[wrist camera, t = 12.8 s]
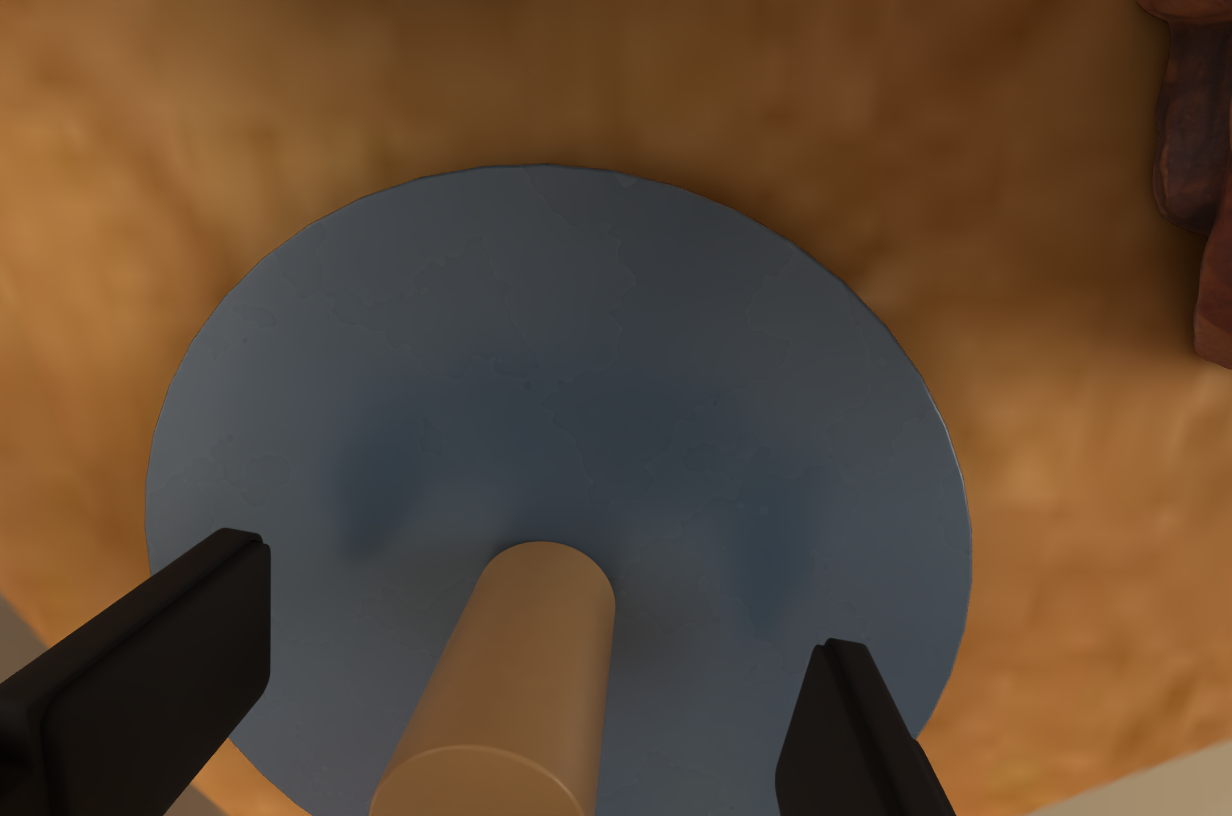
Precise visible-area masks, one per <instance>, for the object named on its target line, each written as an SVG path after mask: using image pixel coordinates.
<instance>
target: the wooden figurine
mask: <svg viewBox="0 0 1232 816" xmlns="http://www.w3.org/2000/svg"><path fill="white" fill-rule="evenodd" d="M1137 2H1138V3H1139V4H1140V5H1141V7H1142V8H1143V9H1144V10H1145V11H1146V12H1148V13H1150V14H1151V15H1153V16H1155V17H1158V18H1160V19H1163V20H1165V21H1167V22H1168V26H1169V29H1170V32H1171V47H1170V55H1169V61H1168V66H1167V70H1166V73H1165V77H1164V81H1163V84H1162V87H1161V90H1160V93H1159V96H1158V101H1157V105H1156V110H1155V121H1156V127H1157V129H1158V131H1159V140H1158V145H1157V150H1156V156H1155V161H1154V168H1153V194H1154V197H1155V200H1156V203H1157V206H1158V208H1159V210H1160V212H1161V215H1162V216H1163V217H1164V218H1166V219H1167V220H1169V221H1170V222H1171V223H1173V224H1175V225H1177V226H1180V227H1182V228H1184V229H1186V230H1189V231H1193V232H1197V233H1201V234H1203V235H1205V236H1207V237H1208V238H1209V239H1208V241H1207V244H1206V246H1205V249H1204V253H1203V256H1202V259H1201V267H1200V284H1199V293H1198V299H1197V303H1196V306H1195V309H1194V315H1193V324H1194V330H1195V334H1194V347H1195V351H1196V354H1197V355H1199V356H1200V357H1202V358H1204V359H1206V360H1208V361H1211V362H1214V363H1216V364H1219V365H1221V366H1223V367H1225V368H1227V369H1231V370H1232V0H1137Z"/></svg>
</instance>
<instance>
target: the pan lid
mask: <svg viewBox="0 0 1232 816" xmlns="http://www.w3.org/2000/svg"><path fill="white" fill-rule="evenodd" d="M221 528H232V529H237V530H243V531H248V532H254V533H258V534H259V535H261V537H262V539H263V543H265V544H268V545H269V547H270V549H271V664H270V678H269V682H268V685H267V687H266V689H265V691H264V693H263V695H262V696H261V697H260V699H259V700H258V701H257V702H256V704H255V705H254V706H253V707H252V708H251V710H250V711H249V712H248V713H247V715H246V716H245V717H244V718H243V719H242V721H241V722H240V723H239V724H238V725H237V727H236V728H235V729H234V730H233V731H232V733H231V734H230V735H229V736H228V737H229V739H230V740H231V741H232V742H233V743H234V745H235V746H236V747H237V748H238V749H239V750H240V751H241V752H242V753H243V754H244V755H245V756H246V758H247V759H248V760H249V761H250V762H251V763H252V764H253V765H254V766H255V767H256V768H257V769H258V771H259V772H260V773H261V774H262V775H263V776H265V777H266V778H267V779H268V780H269V781H270V782H271V783H273V784H274V785H275V786H276V787H277V788H278V789H279V790H281V791H282V792H283V793H284V794H285V795H286V796H287V797H289V798H290V799H291V800H292V801H293V802H294V803H295V804H297V805H298V806H300V807H301V808H302V809H304V810H305V811H307V812H308V813H309V814H311V815H312V816H780V811H779V806H778V801H777V797H776V791H775V771H776V766H777V763H778V760H779V756H780V753H781V750H782V747H783V744H784V740H785V737H786V734H787V731H788V728H789V724H790V721H791V718H792V715H793V712H794V708H795V705H796V702H797V699H798V696H799V692H800V689H801V686H802V683H803V680H804V677H805V673H806V670H807V667H808V664H809V661H810V657H811V654H812V651H813V649H814V647H815V646H816V645H824V644H825V642H826V641H827V639H829V638H835V639H841V640H846V641H852V642H857V643H862V644H864V645H866V647H867V648H868V650H869V652H870V654H871V656H872V658H873V660H874V662H875V664H876V666H877V668H878V670H879V672H880V674H881V676H882V678H883V680H884V682H885V684H886V686H887V688H888V690H889V692H890V694H891V696H892V698H893V700H894V702H895V704H896V706H897V708H898V710H899V712H900V714H901V717H902V719H903V721H904V723H905V725H906V727H907V729H908V731H909V733H910V735H911V737H912V738H913V739H915V740H916V739H917V737H918V736H919V734H920V733H921V731H922V730H923V728H924V727H925V725H926V724H927V722H928V721H929V719H930V718H931V715H932V713H933V711H934V709H935V707H936V705H937V703H938V701H939V699H940V697H941V695H942V692H943V690H944V688H945V686H946V684H947V682H948V680H949V678H950V676H951V673H952V669H953V666H954V663H955V660H956V656H957V653H958V650H959V647H960V643H961V640H962V637H963V634H964V630H965V625H966V618H967V611H968V604H969V598H970V591H971V584H972V528H971V522H970V516H969V510H968V504H967V497H966V491H965V485H964V479H963V475H962V472H961V469H960V466H959V463H958V459H957V456H956V453H955V450H954V447H953V444H952V441H951V438H950V435H949V432H948V429H947V426H946V423H945V421H944V419H943V418H942V416H941V414H940V412H939V410H938V408H937V406H936V404H935V402H934V400H933V398H932V396H931V394H930V392H929V390H928V388H927V386H926V384H925V382H924V380H923V378H922V376H921V374H920V373H919V371H918V370H917V368H916V367H915V366H914V364H913V363H912V361H911V360H910V358H909V357H908V356H907V354H906V353H905V351H904V350H903V349H902V347H901V346H900V344H899V343H898V342H897V340H896V339H895V337H894V336H893V334H892V333H891V332H890V330H889V329H888V327H887V326H886V325H885V324H884V323H883V322H882V321H881V320H880V319H879V318H878V317H877V316H876V315H875V313H874V312H873V311H872V310H871V309H870V308H869V307H868V306H867V305H866V304H865V303H864V302H863V301H862V300H861V299H860V298H859V297H858V296H857V295H856V294H855V293H854V292H853V290H852V289H851V288H850V287H849V286H848V285H847V284H846V283H845V282H844V281H843V280H841V279H840V278H839V277H837V276H836V275H835V274H834V273H832V272H831V271H830V270H828V269H827V268H826V267H825V266H823V265H822V264H821V263H820V262H818V261H817V260H816V259H814V258H813V257H812V256H811V255H809V254H808V253H807V252H805V251H804V250H803V249H802V248H800V247H799V246H798V245H797V244H795V243H794V242H792V241H790V240H789V239H787V238H785V237H783V236H782V235H780V234H778V233H776V232H775V231H773V230H771V229H769V228H768V227H766V226H764V225H763V224H761V223H759V222H757V221H756V220H754V219H752V218H750V217H749V216H747V215H745V214H743V213H742V212H740V211H738V210H736V209H733V208H731V207H728V206H726V205H723V204H721V203H718V202H716V201H713V200H711V199H708V198H706V197H703V196H701V195H698V194H696V193H693V192H691V191H688V190H686V189H683V188H681V187H678V186H675V185H671V184H667V183H663V182H659V181H655V180H651V179H647V178H643V177H639V176H635V175H631V174H627V173H623V172H618V171H614V170H606V169H597V168H587V167H577V166H568V165H558V164H549V163H546V164H519V165H493V166H480V167H474V168H469V169H463V170H458V171H452V172H447V173H441V174H436V175H430V176H425V177H420V178H417V179H414V180H411V181H408V182H405V183H402V184H399V185H396V186H393V187H390V188H387V189H385V190H382V191H379V192H376V193H373V194H370V195H367V196H364V197H361V198H359V199H358V200H356V201H354V202H352V203H350V204H348V205H346V206H344V207H342V208H340V209H338V210H336V211H334V212H332V213H330V214H328V215H327V216H325V217H323V218H321V219H319V220H317V221H315V222H313V223H311V224H309V225H308V226H306V227H305V228H304V229H302V230H301V231H300V232H298V233H297V234H295V235H294V236H293V237H291V238H290V239H289V240H287V241H286V242H284V243H283V244H282V245H280V246H279V247H278V248H276V249H275V250H273V251H272V252H271V253H269V254H268V255H267V256H265V257H264V258H263V259H262V260H261V261H260V262H259V263H258V264H257V265H256V266H255V267H254V268H253V269H252V270H251V271H250V272H249V273H248V274H247V275H246V276H245V277H244V278H243V279H242V280H241V281H240V282H239V283H238V284H237V285H236V286H235V287H234V288H233V289H232V290H231V291H230V292H229V293H228V294H227V295H226V296H225V297H224V298H223V299H222V301H221V302H220V303H219V305H218V306H217V307H216V309H215V310H214V312H213V313H212V314H211V316H210V317H209V318H208V320H207V321H206V323H205V324H204V325H203V327H202V328H201V329H200V331H199V332H198V334H197V335H196V336H195V338H194V339H193V340H192V342H191V344H190V346H189V348H188V350H187V352H186V354H185V356H184V358H183V360H182V362H181V364H180V366H179V368H178V370H177V372H176V374H175V376H174V377H173V379H172V381H171V383H170V385H169V388H168V391H167V394H166V397H165V400H164V403H163V406H162V409H161V412H160V415H159V418H158V421H157V425H156V428H155V431H154V434H153V440H152V446H151V452H150V458H149V464H148V470H147V476H146V489H145V534H146V541H147V549H148V557H149V564H150V572H151V577H152V576H153V575H155V574H156V573H157V572H159V571H160V570H162V569H163V568H164V567H166V566H167V565H169V564H170V563H171V562H173V561H174V560H176V559H177V558H179V557H180V556H181V555H183V554H184V553H186V552H187V551H188V550H190V549H191V548H193V547H194V546H195V545H197V544H198V543H200V542H201V541H202V540H204V539H205V538H207V537H208V536H210V535H211V534H212V533H214V532H215V531H217V530H219V529H221Z"/></svg>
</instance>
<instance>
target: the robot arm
mask: <svg viewBox="0 0 1232 816" xmlns="http://www.w3.org/2000/svg"><path fill="white" fill-rule="evenodd" d="M270 664H271V549H270V547H269V545H268V544H265V543H263V539H262V537H261V535H259V534H258V533H254V532H248V531H243V530H237V529H232V528H221V529H219V530H217V531H215V532H214V533H212V534H211V535H210V536H208V537H207V538H205V539H204V540H202V541H201V542H200V543H198V544H197V545H195V546H194V547H193V548H191V549H190V550H188V551H187V552H186V553H184V554H183V555H181V556H180V557H179V558H177V559H176V560H174V561H173V562H171V563H170V564H169V565H167V566H166V567H164V568H163V569H162V570H160V571H159V572H157V573H156V574H155V575H153V576H152V577H150V578H149V579H147V580H146V581H145V582H143V583H142V584H140V585H139V586H138V587H136V588H135V589H133V590H132V591H131V592H129V593H128V594H126V595H125V596H124V597H122V598H121V599H119V600H118V601H116V602H115V603H114V604H112V605H111V606H109V607H108V608H107V609H105V610H104V611H102V612H101V613H100V614H98V615H97V616H95V617H94V618H92V619H91V620H90V621H88V622H87V623H85V624H84V625H83V626H81V627H80V628H78V629H77V630H76V631H74V632H73V633H71V634H70V635H69V636H67V637H66V638H64V639H63V640H61V641H60V642H59V643H57V644H56V645H54V646H53V647H52V648H50V649H49V650H47V651H46V652H45V653H43V654H42V655H40V656H39V657H38V658H36V659H35V660H34V661H32V662H31V663H29V664H28V665H26V666H25V667H24V668H22V669H21V670H19V671H18V672H16V673H15V674H14V675H12V676H11V677H9V678H8V679H6V680H5V681H4V682H2V683H1V684H0V816H163V815H164V814H165V813H166V811H167V810H168V809H169V808H170V806H171V805H172V804H173V803H174V802H175V800H176V799H177V798H178V797H179V796H180V794H181V793H182V792H183V791H184V790H185V788H186V787H187V786H188V785H189V783H190V782H191V781H192V780H193V779H194V777H195V776H196V775H197V774H198V773H199V771H200V770H201V769H202V768H203V767H204V765H205V764H206V763H207V762H208V760H209V759H210V758H211V757H212V756H213V754H214V753H215V752H216V751H217V750H218V748H219V747H220V746H221V745H222V744H223V742H224V741H225V740H226V739H227V737H228V736H229V735H230V734H231V733H232V731H233V730H234V729H235V728H236V727H237V725H238V724H239V723H240V722H241V721H242V719H243V718H244V717H245V716H246V715H247V713H248V712H249V711H250V710H251V708H252V707H253V706H254V705H255V704H256V702H257V701H258V700H259V699H260V697H261V696H262V695H263V693H264V691H265V689H266V687H267V685H268V682H269V678H270ZM775 791H776V797H777V801H778V806H779V811H780V816H956V814H955V812H954V810H953V808H952V806H951V804H950V802H949V800H948V798H947V796H946V794H945V792H944V790H943V788H942V786H941V784H940V782H939V780H938V778H937V776H936V774H935V772H934V770H933V768H932V766H931V764H930V762H929V760H928V758H927V756H926V754H925V752H924V751H923V749H922V747H921V746H920V744H919V743H918V741H916V740H915V739H913V738H912V737H911V735H910V733H909V731H908V729H907V727H906V725H905V723H904V721H903V719H902V717H901V714H900V712H899V710H898V708H897V706H896V704H895V702H894V700H893V698H892V696H891V694H890V692H889V690H888V688H887V686H886V684H885V682H884V680H883V678H882V676H881V674H880V672H879V670H878V668H877V666H876V664H875V662H874V660H873V658H872V656H871V654H870V652H869V650H868V648H867V647H866V645H864V644H862V643H857V642H852V641H846V640H841V639H835V638H829V639H827V641H826V642H825V644H824V645H816V646H815V647H814V649H813V651H812V654H811V657H810V661H809V664H808V667H807V670H806V673H805V677H804V680H803V683H802V686H801V689H800V692H799V696H798V699H797V702H796V705H795V708H794V712H793V715H792V718H791V721H790V724H789V728H788V731H787V734H786V737H785V740H784V744H783V747H782V750H781V753H780V756H779V760H778V763H777V766H776V771H775Z"/></svg>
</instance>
